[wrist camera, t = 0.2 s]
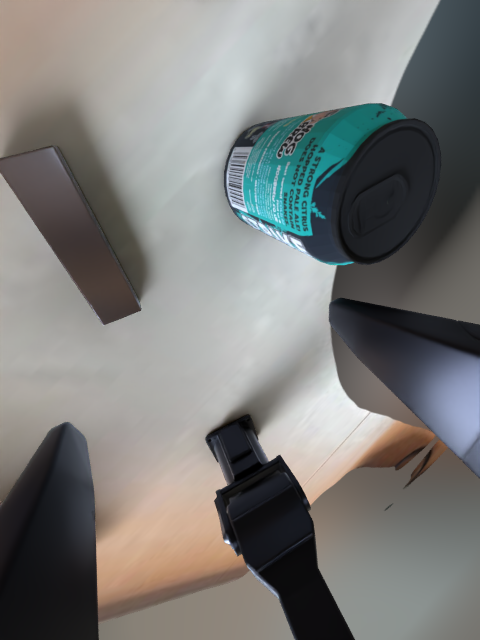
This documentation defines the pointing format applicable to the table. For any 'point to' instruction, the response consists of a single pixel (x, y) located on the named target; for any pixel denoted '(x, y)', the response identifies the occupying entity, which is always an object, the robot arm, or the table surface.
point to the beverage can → (336, 181)
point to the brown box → (70, 230)
